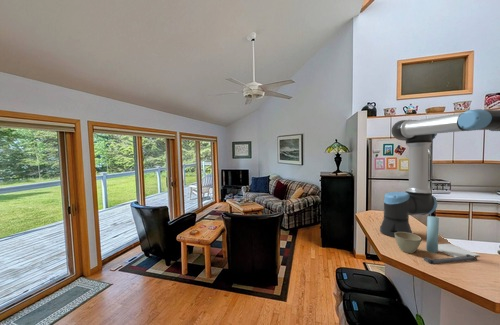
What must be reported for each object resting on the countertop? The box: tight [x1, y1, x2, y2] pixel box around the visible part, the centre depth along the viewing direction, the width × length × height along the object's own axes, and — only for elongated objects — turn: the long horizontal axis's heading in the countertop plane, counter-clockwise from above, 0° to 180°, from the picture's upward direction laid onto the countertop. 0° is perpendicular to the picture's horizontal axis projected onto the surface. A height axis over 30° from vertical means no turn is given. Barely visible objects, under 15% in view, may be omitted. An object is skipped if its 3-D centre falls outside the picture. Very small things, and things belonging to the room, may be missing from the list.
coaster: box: [438, 243, 480, 258], centre depth 97 cm, size 12×12×1 cm
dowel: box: [425, 215, 440, 254], centre depth 97 cm, size 4×4×16 cm
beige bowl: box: [394, 232, 422, 254], centre depth 98 cm, size 10×10×7 cm
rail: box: [423, 254, 478, 265], centre depth 89 cm, size 3×22×1 cm, turn 97°
